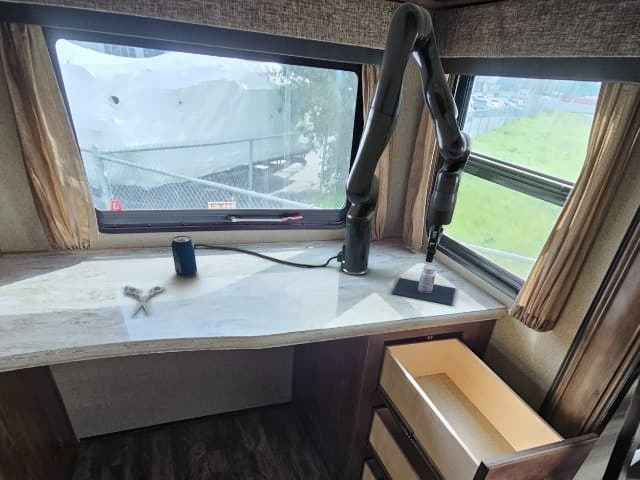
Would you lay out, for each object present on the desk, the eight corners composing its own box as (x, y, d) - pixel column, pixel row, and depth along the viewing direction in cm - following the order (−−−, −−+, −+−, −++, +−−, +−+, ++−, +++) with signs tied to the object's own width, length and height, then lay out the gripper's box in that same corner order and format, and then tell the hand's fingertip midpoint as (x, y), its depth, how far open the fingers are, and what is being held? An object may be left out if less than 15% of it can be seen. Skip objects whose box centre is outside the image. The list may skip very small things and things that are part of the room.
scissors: (162, 283, 136) (160, 312, 121) (162, 286, 137) (161, 315, 122) (125, 285, 133) (119, 315, 118) (126, 288, 134) (120, 318, 119)
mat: (391, 294, 144) (392, 292, 144) (399, 278, 155) (399, 277, 155) (451, 305, 141) (451, 304, 140) (455, 289, 151) (455, 288, 151)
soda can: (199, 270, 149) (195, 235, 141) (194, 278, 143) (190, 242, 136) (179, 269, 148) (173, 234, 141) (173, 277, 143) (167, 241, 135)
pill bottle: (431, 294, 146) (436, 270, 141) (417, 292, 146) (422, 268, 141) (431, 288, 149) (437, 265, 144) (418, 286, 150) (422, 263, 145)
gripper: (433, 198, 137) (422, 248, 147) (426, 209, 126) (415, 262, 136) (456, 202, 136) (444, 253, 146) (452, 214, 125) (439, 267, 135)
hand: (430, 257), depth 141 cm, fingers open, 8 cm apart
